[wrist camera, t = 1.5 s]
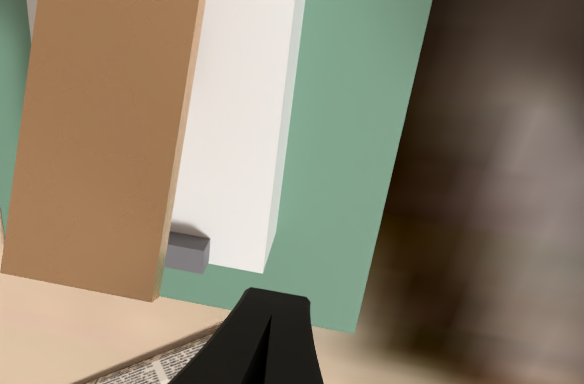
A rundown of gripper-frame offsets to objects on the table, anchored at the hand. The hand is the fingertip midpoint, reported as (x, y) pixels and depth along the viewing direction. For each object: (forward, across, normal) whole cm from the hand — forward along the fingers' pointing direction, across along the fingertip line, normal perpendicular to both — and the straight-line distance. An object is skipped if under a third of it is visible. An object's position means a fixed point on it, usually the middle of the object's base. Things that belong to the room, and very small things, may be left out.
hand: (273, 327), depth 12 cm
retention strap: (+4, +5, -4) cm, 8 cm away
